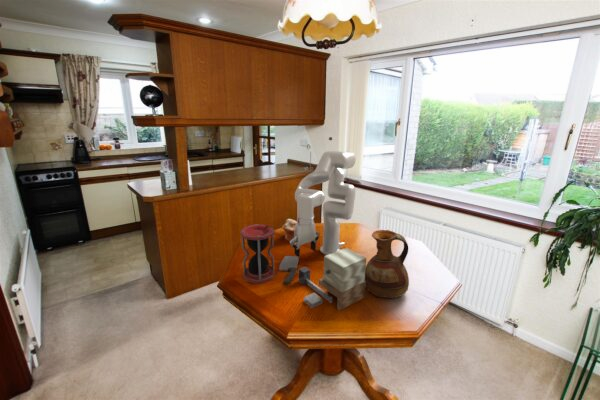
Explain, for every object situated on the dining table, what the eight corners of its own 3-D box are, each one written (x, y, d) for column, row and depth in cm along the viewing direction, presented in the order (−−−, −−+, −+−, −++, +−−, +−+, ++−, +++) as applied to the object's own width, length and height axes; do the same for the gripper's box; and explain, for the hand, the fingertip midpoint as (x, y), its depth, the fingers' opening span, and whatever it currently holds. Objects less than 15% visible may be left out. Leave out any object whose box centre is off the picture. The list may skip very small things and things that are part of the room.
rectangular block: (314, 296, 133) (314, 292, 132) (322, 303, 128) (322, 299, 127) (303, 301, 129) (303, 297, 129) (312, 308, 125) (312, 304, 124)
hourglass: (276, 281, 144) (275, 235, 136) (243, 285, 141) (241, 238, 133) (272, 265, 159) (271, 222, 151) (242, 268, 156) (240, 225, 148)
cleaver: (293, 286, 140) (293, 282, 140) (273, 285, 141) (273, 281, 141) (299, 257, 168) (299, 254, 168) (282, 256, 169) (282, 253, 169)
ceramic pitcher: (360, 278, 147) (364, 223, 138) (400, 279, 147) (407, 224, 138) (367, 302, 129) (373, 241, 120) (413, 303, 128) (422, 242, 119)
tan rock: (277, 239, 190) (276, 218, 186) (305, 229, 207) (305, 209, 203) (290, 247, 180) (290, 224, 176) (319, 235, 198) (320, 214, 193)
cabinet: (343, 282, 143) (345, 246, 137) (364, 297, 132) (368, 258, 126) (318, 294, 134) (319, 255, 128) (339, 310, 123) (341, 269, 117)
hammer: (304, 278, 146) (305, 266, 144) (334, 301, 130) (335, 288, 127) (298, 281, 144) (298, 268, 142) (328, 304, 127) (328, 291, 125)
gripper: (314, 213, 142) (314, 244, 147) (285, 221, 132) (286, 254, 137) (324, 218, 136) (323, 250, 141) (294, 227, 126) (295, 261, 132)
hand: (305, 252), depth 139 cm, fingers open, 9 cm apart
